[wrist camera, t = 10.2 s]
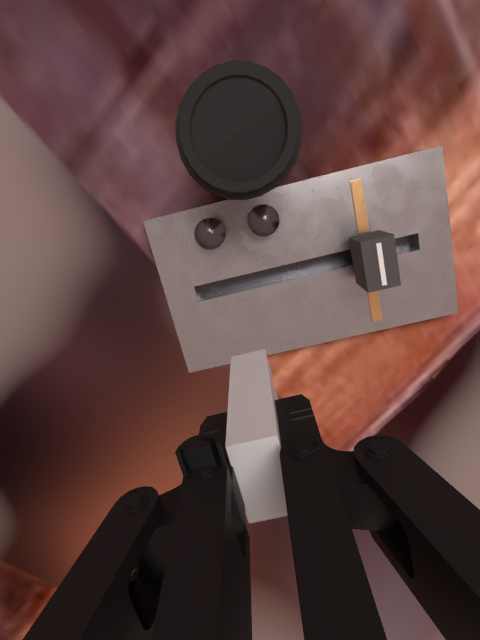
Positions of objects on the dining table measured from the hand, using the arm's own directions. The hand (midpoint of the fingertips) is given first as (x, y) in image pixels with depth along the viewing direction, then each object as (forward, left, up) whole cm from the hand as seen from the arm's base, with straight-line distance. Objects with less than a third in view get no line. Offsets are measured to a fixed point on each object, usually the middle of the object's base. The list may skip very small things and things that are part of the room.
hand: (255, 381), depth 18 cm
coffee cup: (-11, +2, -27) cm, 29 cm away
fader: (+1, +11, -26) cm, 29 cm away
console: (+1, +6, -26) cm, 27 cm away
